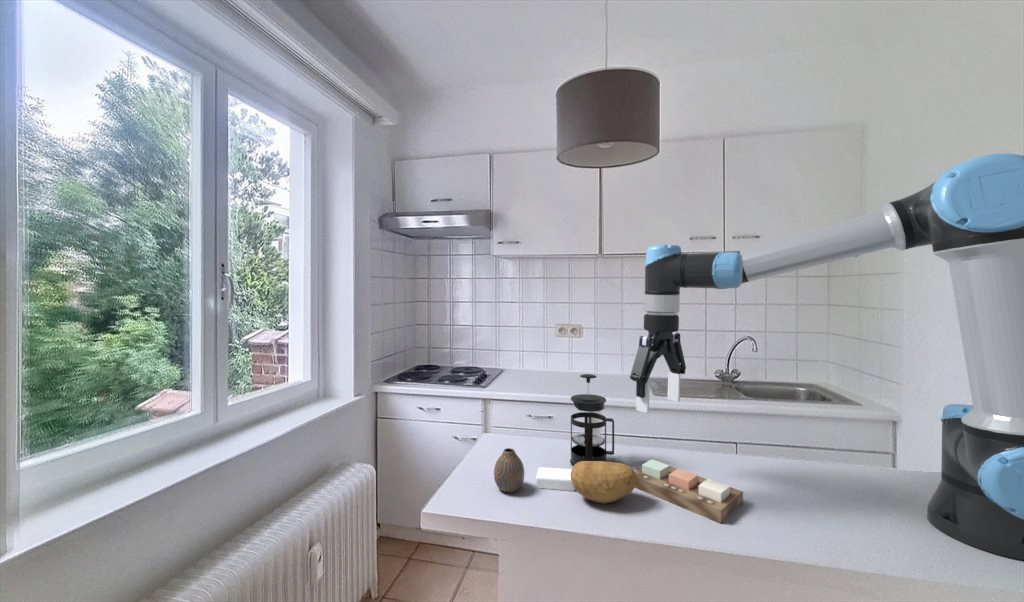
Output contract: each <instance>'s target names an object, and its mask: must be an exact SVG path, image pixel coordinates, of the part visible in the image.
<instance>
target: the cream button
mask: <svg viewBox="0 0 1024 602" xmlns="http://www.w3.org/2000/svg"><path fill="white" fill-rule="evenodd" d="M706 479H707V480H705V481H704V482H702V483H701V484H700V485H699V494H700V495H702V496H705V497H707V498H710V499H713V500H715V501H718V502H721V503H722V502H724V501H725V500H726V499H727V498H728V497H730V487H731V486H730V485H728V484H724V483H722V482H718V481H715V480H713V479H710V478H706Z"/></svg>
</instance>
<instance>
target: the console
mask: <svg viewBox="0 0 1024 602" xmlns="http://www.w3.org/2000/svg"><path fill="white" fill-rule="evenodd" d="M677 469H678V468H677V467H674V466H671V465H670V473H672V472H673V471H675V470H677ZM634 472H635V473H636V475H637V478H638V480H637V483H636V485H635V487H634V489H637V490H640V491H642V492H643V493H644V492H645V493H646V494H649V495H652V496H654V497H657V498H658V499H661V500H663V501H666V502H668V503H671V504H673V505H675V506H677V507H680V508H683V509H685V510H688V511H690V512H692V513H695V514H697V515H700V516H702V517H704V518H706V519H709V520H711V521H713V522H716V523H719V524H722V523H723V522H724V521H725V520H727V518H728V517H730V516H731V515H732V514H733V513H734V512H735V511H736V510H737V509H738V508H739V507H741V506H742V505H743V502H744V500H743V499H744V492H743V491H742V490H740V489H737V488H734V487H732V486H730V497H728V498H727V499H726V500H725V501H724V502H722V503H721V502H718V501H715V500H713V499H710V498H707V497H705V496H702V495H700V494H699V485H700V484H701V483H702V482H704V481H705V480H707V479H708V478H705V477H703V476H699V475H698V485H696V486H695V487H694V488H692V489H691V490H686V489H684V488H681V487H678V486H676V485H673V484H671V483H669V475H667V476H665V477H664V478H662V479H657V478H655V477H652V476H650V475H647V474H644V473H642V467H640V468H638V469H636V470H634Z"/></svg>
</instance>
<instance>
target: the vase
mask: <svg viewBox="0 0 1024 602" xmlns="http://www.w3.org/2000/svg"><path fill="white" fill-rule="evenodd" d="M493 478H494V482H495V484H496V486H497V488H498V489H499V490H500V491H502V492H503V491H504V492H503V493H507V492H511V493H515V492H517V491H518V490H520V488H521V487H522V485H523V483H524V481H525V468H524V464H523V462H522V459H521V458H520V457H519V456H518V455H517V453H516V451H515V449H514V448H512V447H505V448H504V449H503V451H502V453H501V455H500V456H499V457H498V458H497V460H496V462H495V464H494V468H493Z"/></svg>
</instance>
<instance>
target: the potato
mask: <svg viewBox="0 0 1024 602" xmlns="http://www.w3.org/2000/svg"><path fill="white" fill-rule="evenodd" d="M634 471H635V470H634V469H633V467H632V466H630V465H626V464H625V463H624V464H623V463H621V462H620V463H619V462H610V461H606V462H604V461H580V462H578V463H576V464H575V465H574V466H572V471H571V481H572V483H573V485H574V487H575V488H576V490H575V491H577V493H578V494H580V495H581V496H582V497H583V498H585V499H586V500H588V501H592V502H595V503H598V504H606V505H607V504H611V503H615V502H617V501H619V500H621V499H624V498H625V497H626V496H628V495H630V494H631V493H632V492H633V491H634V489H635V485H636V483H637V480H638V478H637V475H636V473H635V472H634Z"/></svg>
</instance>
